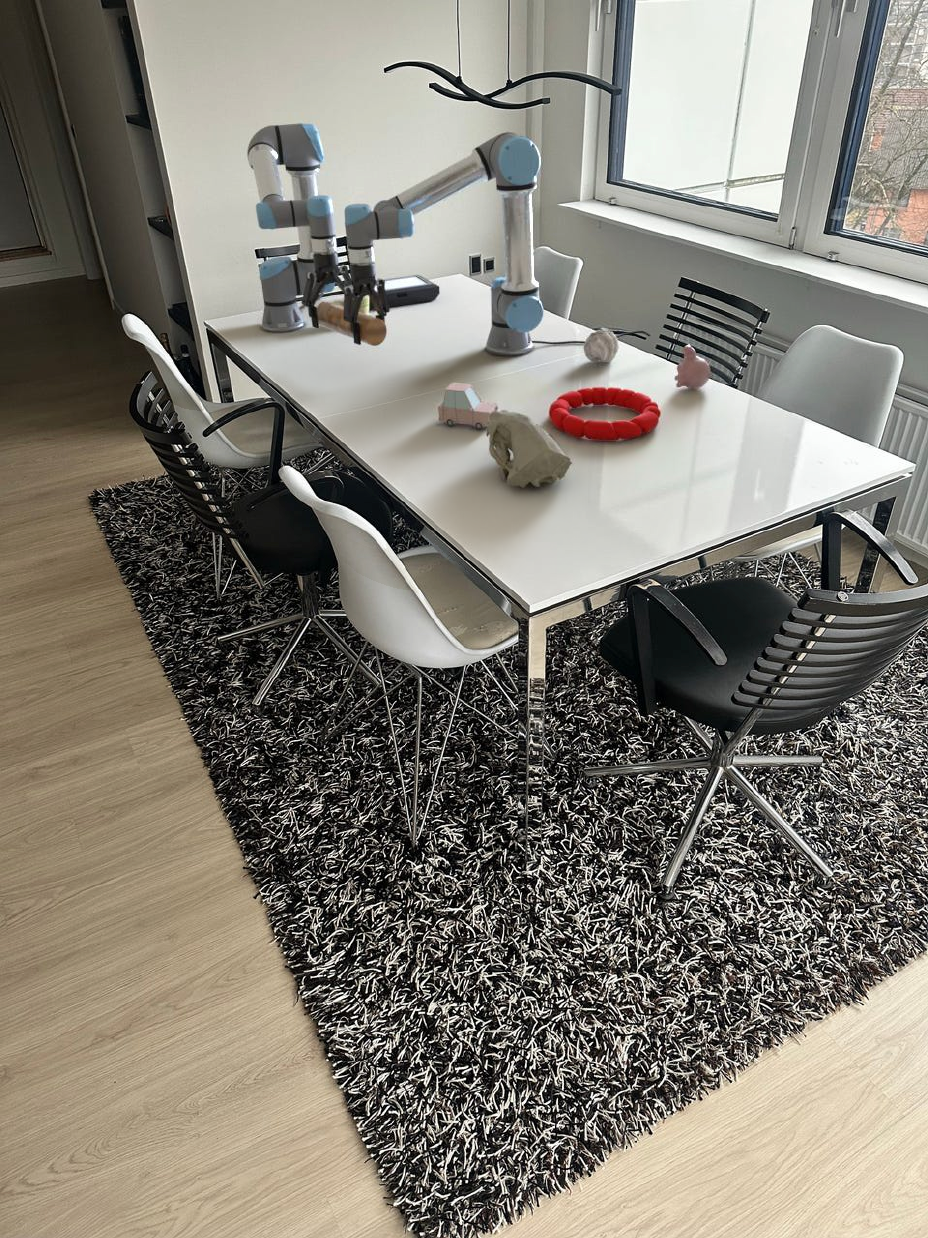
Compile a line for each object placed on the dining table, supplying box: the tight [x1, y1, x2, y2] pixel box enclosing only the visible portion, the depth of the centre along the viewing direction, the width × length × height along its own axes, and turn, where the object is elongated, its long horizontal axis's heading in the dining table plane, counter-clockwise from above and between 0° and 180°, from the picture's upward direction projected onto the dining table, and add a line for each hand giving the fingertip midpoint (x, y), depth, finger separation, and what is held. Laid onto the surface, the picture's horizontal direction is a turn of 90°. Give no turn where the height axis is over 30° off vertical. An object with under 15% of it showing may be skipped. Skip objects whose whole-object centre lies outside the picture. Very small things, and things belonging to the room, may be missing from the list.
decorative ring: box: [548, 386, 661, 442], centre depth 242 cm, size 7×30×30 cm
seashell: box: [582, 329, 620, 363], centre depth 282 cm, size 10×15×10 cm
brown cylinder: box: [316, 300, 387, 347], centre depth 277 cm, size 28×8×8 cm, turn 40°
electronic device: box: [369, 274, 440, 311], centre depth 349 cm, size 32×6×20 cm
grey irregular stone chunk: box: [485, 409, 573, 489], centre depth 216 cm, size 17×25×20 cm
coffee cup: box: [343, 280, 370, 316], centre depth 323 cm, size 10×10×15 cm
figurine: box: [674, 344, 711, 390], centre depth 259 cm, size 9×11×12 cm
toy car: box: [437, 382, 499, 431], centre depth 243 cm, size 9×15×10 cm, turn 70°
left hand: (332, 322), depth 285 cm, fingers open, 12 cm apart
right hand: (369, 340), depth 273 cm, fingers closed on brown cylinder, 8 cm apart
